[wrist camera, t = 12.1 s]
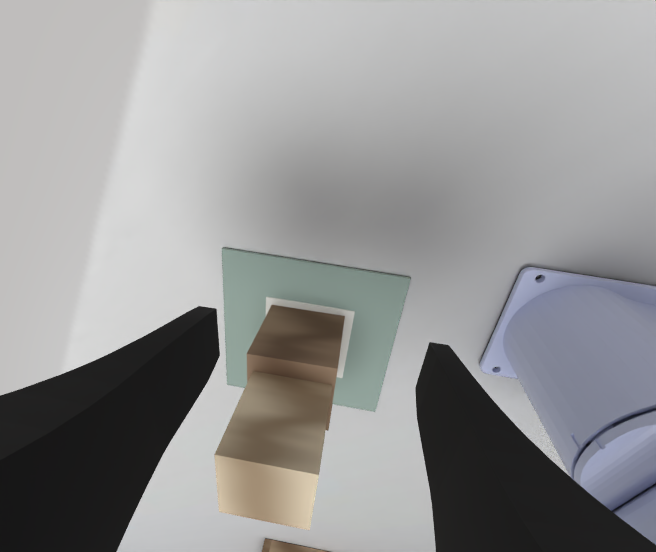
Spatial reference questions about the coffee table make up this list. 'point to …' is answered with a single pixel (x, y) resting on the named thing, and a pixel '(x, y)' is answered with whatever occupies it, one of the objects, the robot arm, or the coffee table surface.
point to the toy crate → (285, 547)
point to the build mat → (321, 296)
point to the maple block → (273, 450)
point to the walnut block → (298, 346)
